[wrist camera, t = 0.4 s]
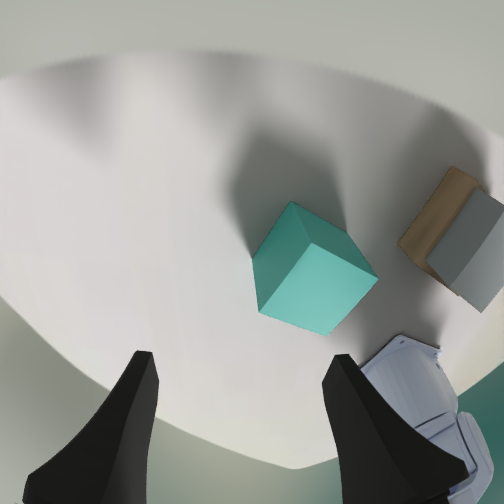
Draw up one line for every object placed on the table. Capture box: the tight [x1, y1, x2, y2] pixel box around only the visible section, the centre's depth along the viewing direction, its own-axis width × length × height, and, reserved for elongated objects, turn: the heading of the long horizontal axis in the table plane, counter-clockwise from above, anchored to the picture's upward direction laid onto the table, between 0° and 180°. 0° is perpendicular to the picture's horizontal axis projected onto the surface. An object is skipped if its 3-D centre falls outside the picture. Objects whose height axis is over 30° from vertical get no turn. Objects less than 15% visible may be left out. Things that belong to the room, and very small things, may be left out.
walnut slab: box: [397, 166, 485, 297], centre depth 18 cm, size 7×7×3 cm
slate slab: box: [425, 187, 504, 313], centre depth 15 cm, size 6×6×3 cm
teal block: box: [252, 201, 378, 336], centre depth 16 cm, size 4×4×5 cm
